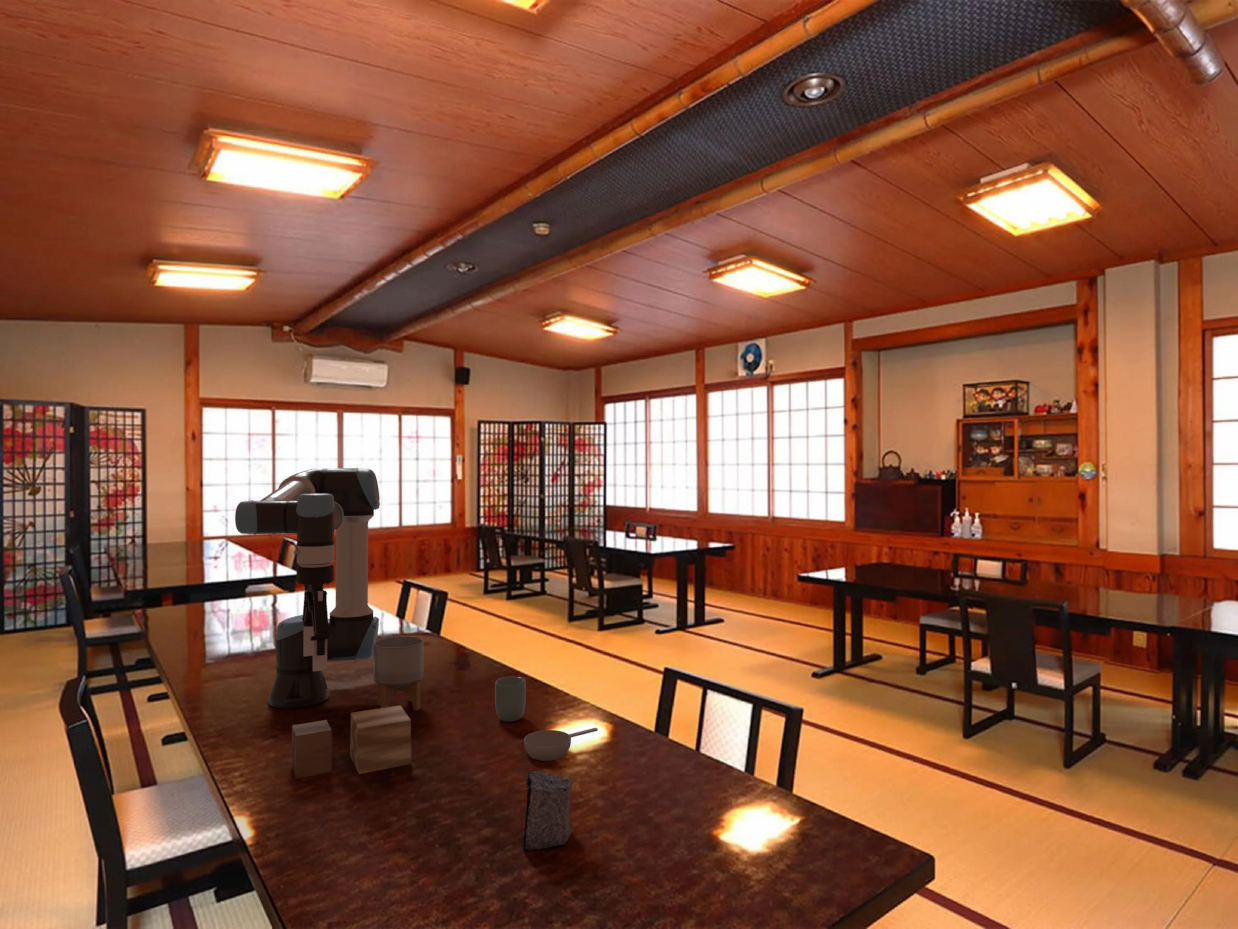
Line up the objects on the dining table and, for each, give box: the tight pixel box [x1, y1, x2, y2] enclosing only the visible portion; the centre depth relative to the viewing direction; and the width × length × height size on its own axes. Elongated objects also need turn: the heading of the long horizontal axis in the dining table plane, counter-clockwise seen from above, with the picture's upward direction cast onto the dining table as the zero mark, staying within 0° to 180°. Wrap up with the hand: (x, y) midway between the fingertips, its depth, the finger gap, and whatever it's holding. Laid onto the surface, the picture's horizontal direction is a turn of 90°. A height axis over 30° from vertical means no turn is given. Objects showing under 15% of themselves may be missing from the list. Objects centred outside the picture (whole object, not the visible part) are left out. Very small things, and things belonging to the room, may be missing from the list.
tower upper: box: [350, 705, 412, 752], centre depth 162 cm, size 11×11×5 cm
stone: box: [522, 771, 573, 851], centre depth 128 cm, size 12×10×10 cm
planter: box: [373, 635, 424, 711], centre depth 197 cm, size 13×13×18 cm
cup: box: [494, 676, 527, 723], centre depth 188 cm, size 8×8×10 cm
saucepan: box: [523, 727, 599, 762], centre depth 168 cm, size 11×18×4 cm, turn 117°
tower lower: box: [349, 734, 412, 775], centre depth 162 cm, size 11×11×5 cm
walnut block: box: [291, 719, 332, 779], centre depth 157 cm, size 7×7×9 cm
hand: (314, 662), depth 157 cm, fingers open, 13 cm apart
